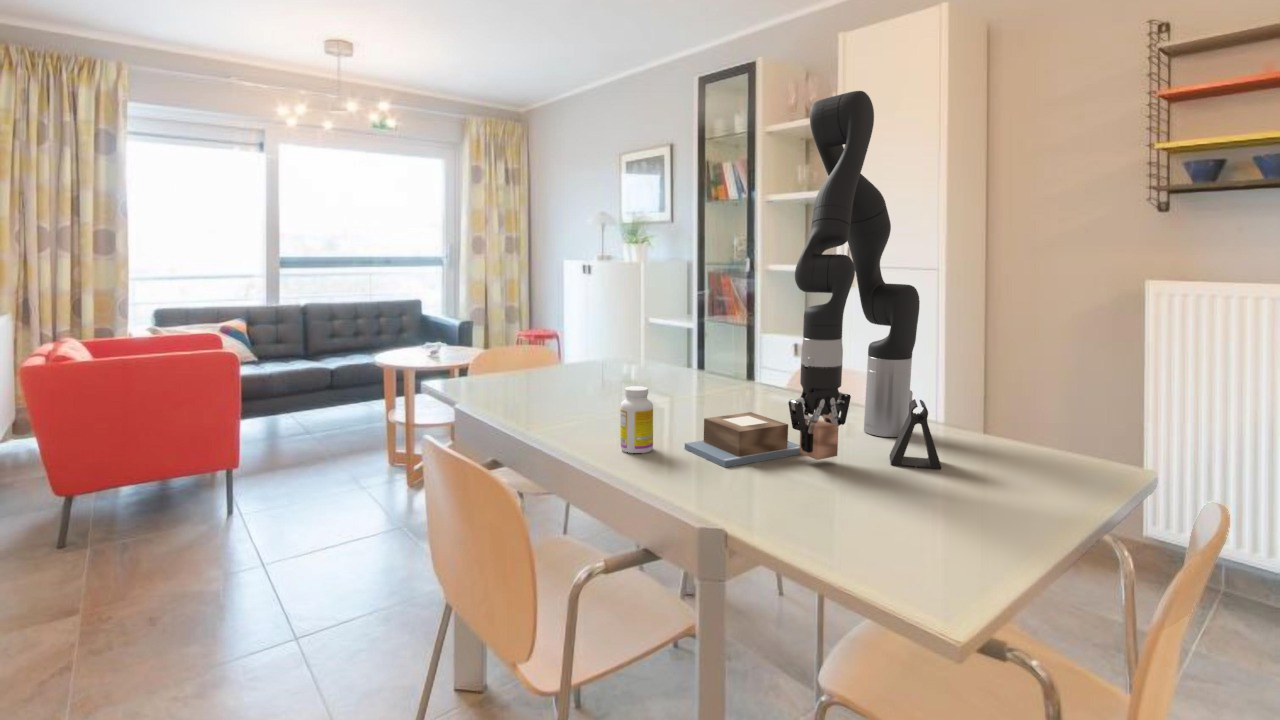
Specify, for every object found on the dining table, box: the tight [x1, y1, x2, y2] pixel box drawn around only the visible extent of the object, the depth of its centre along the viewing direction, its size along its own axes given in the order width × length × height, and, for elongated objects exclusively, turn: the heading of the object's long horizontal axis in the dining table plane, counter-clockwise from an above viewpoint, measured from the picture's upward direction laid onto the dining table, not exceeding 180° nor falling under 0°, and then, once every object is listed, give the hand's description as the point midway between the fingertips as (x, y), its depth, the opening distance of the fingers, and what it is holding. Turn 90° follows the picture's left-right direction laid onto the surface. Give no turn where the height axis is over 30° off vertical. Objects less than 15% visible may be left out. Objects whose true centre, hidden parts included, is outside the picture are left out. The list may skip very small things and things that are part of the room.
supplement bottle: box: [619, 385, 654, 454], centre depth 143 cm, size 7×7×13 cm
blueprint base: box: [684, 412, 801, 468], centre depth 143 cm, size 20×14×6 cm
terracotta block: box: [799, 419, 840, 461], centre depth 135 cm, size 5×5×6 cm
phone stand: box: [889, 399, 942, 471], centre depth 135 cm, size 9×6×12 cm, turn 73°
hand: (818, 449), depth 135 cm, fingers closed on terracotta block, 5 cm apart
